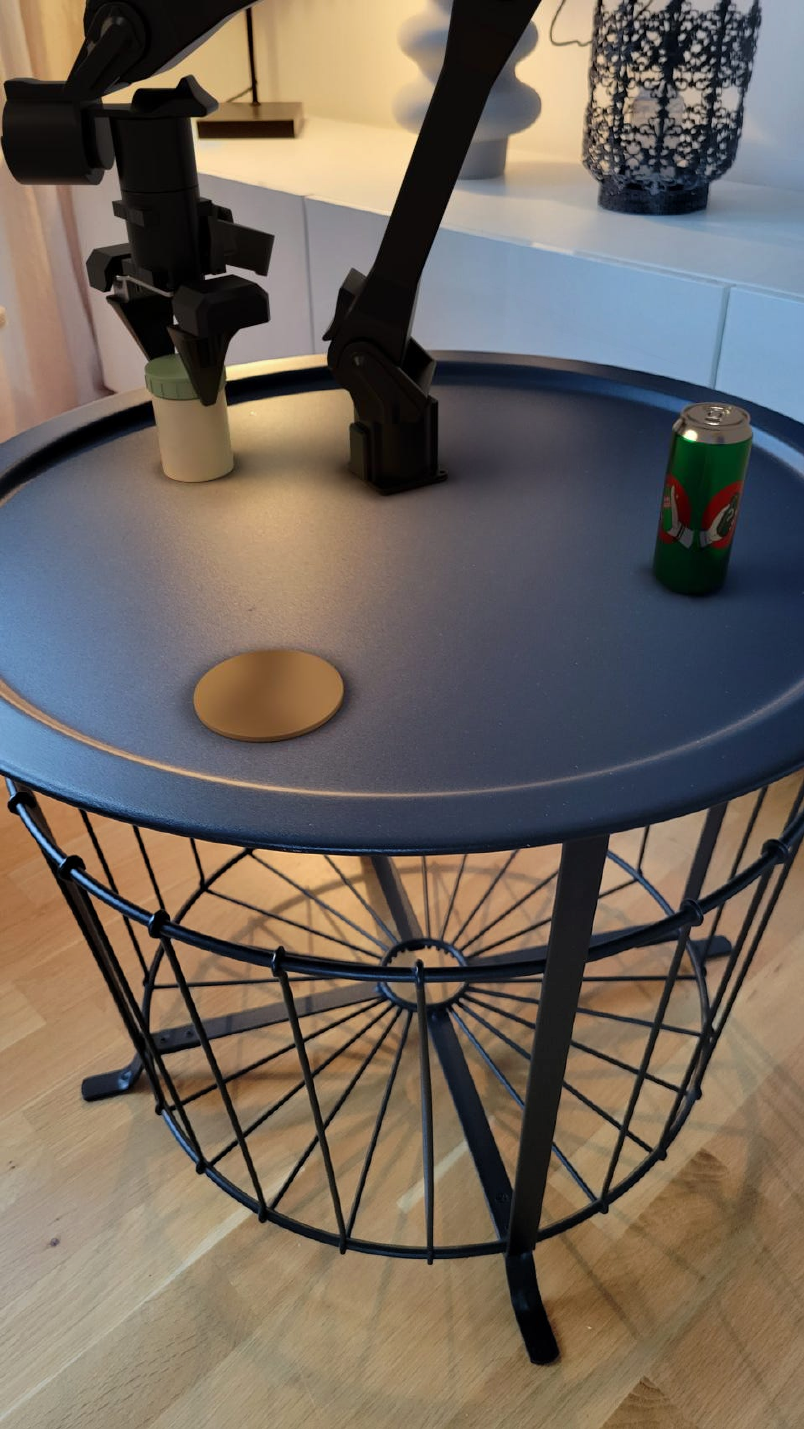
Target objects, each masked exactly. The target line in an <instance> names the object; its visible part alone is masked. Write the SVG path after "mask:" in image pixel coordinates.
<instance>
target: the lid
mask: <svg viewBox="0 0 804 1429" xmlns="http://www.w3.org/2000/svg"><path fill="white" fill-rule="evenodd" d="M227 380H228V377H227V368H226V365H225V364H224V367H223V371H222V376H221V381H220V386H219V390H221V389H222V388H224V387H225V388H226V385H227ZM144 381H145V387H146V389H147V390H148V392H149V393H150V394H151V393H152V394H153V395H156V396H159V397H163V398H170V399H189V398H197V397H198V396H197V394H196V392H195V390H194V388H193V385H192V383H191V381H190V379H189V376H188V374H187V372H186V370H185V367H184V365H183V363H182V361H181V358H180V356H179V354H178V352H175V354H169V355H165V356H161V357H158V358H156V359H153V360H151V361H150V362H148V361H147V363H146V364H145V365H144Z"/></svg>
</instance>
